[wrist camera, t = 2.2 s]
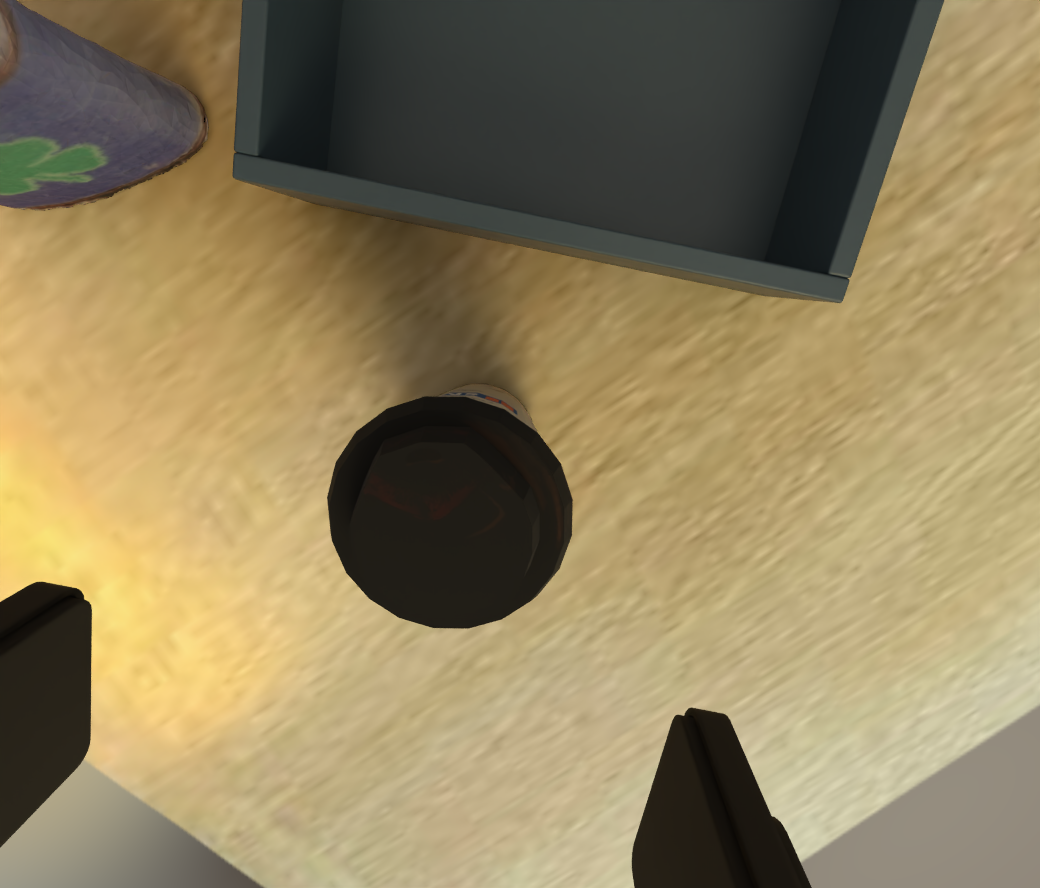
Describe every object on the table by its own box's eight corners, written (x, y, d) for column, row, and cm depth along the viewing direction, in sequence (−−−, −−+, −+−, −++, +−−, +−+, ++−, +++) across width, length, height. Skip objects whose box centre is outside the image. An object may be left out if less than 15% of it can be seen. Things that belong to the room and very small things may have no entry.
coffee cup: (573, 502, 26) (593, 640, 16) (415, 524, 26) (343, 670, 17) (549, 341, 24) (555, 386, 14) (380, 368, 24) (275, 429, 15)
